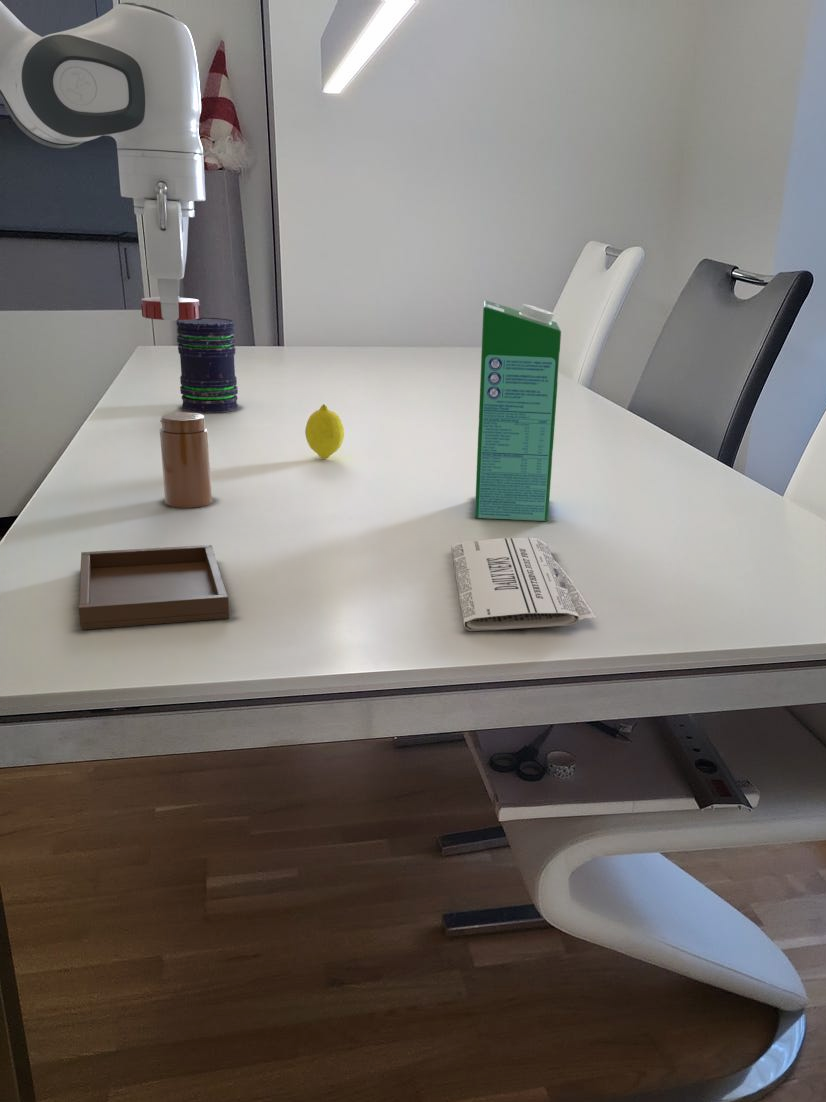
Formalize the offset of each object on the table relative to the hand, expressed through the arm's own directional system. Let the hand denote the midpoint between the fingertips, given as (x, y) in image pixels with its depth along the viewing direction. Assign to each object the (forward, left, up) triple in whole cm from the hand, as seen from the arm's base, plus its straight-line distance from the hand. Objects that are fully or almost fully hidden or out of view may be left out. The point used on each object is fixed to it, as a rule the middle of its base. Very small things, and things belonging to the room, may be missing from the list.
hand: (171, 315), depth 117 cm
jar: (-2, +2, -23) cm, 23 cm away
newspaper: (+46, 0, -23) cm, 51 cm away
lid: (0, 0, +1) cm, 1 cm away
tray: (+19, -23, -23) cm, 37 cm away
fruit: (-4, +31, -23) cm, 39 cm away
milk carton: (+31, +25, -23) cm, 46 cm away
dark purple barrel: (-44, +48, -23) cm, 69 cm away
